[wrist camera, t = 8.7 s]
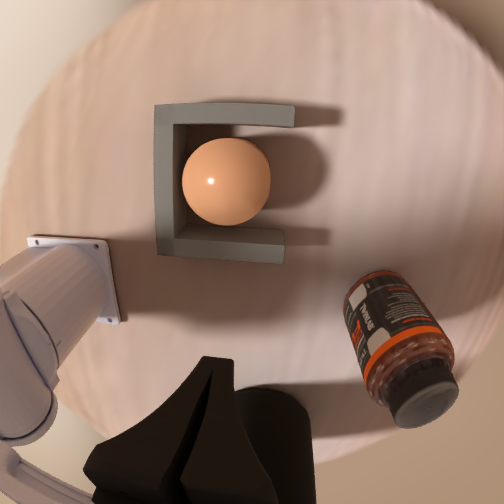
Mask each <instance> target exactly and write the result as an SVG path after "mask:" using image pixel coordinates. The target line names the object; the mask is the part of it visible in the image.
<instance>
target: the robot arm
mask: <svg viewBox="0 0 504 504" xmlns="http://www.w3.org/2000/svg"><path fill="white" fill-rule="evenodd" d="M38 241H39V243H38ZM27 243H28V248H27V249H26V250H24V251H22V252H21V253H19V254H18V255H16V256H14V257H13V258H11V259H10V260H8V261H7V262H5V263H4V264H2V265H1V266H0V491H1V492H2V493H4V494H5V495H6V496H8V497H9V498H11V499H12V500H14V501H15V502H16V503H18V504H278V498H277V495H276V492H275V489H274V487H273V484H272V481H271V479H270V477H269V475H268V474H267V472H266V471H265V469H264V468H263V466H262V464H261V462H260V461H259V459H258V457H257V455H256V453H255V451H254V449H253V447H252V445H251V443H250V441H249V438H248V436H247V433H246V431H245V428H244V426H243V423H242V420H241V417H240V413H239V409H238V406H237V402H236V397H235V391H234V361H233V360H232V359H226V358H217V357H209V356H203V357H202V358H201V359H200V361H199V362H198V364H197V365H196V367H195V368H194V369H193V371H192V372H191V373H190V375H189V376H188V377H187V378H186V379H185V381H184V382H183V383H182V384H181V385H180V387H179V388H178V389H177V390H176V391H175V392H174V393H173V394H172V395H171V396H170V397H169V398H168V399H167V400H166V401H165V402H164V403H163V404H162V405H161V406H160V407H159V408H157V409H156V410H155V411H154V412H153V413H151V414H150V415H149V416H147V417H146V418H145V419H143V420H142V421H141V422H139V423H138V424H136V425H135V426H133V427H131V428H130V429H128V430H126V431H124V432H123V433H121V434H119V435H117V436H115V437H113V438H111V439H109V440H107V441H105V442H102V443H100V444H98V445H96V447H95V448H94V449H93V451H92V452H91V454H90V456H89V457H88V459H87V461H86V464H85V466H84V468H83V472H84V473H85V475H86V476H87V477H88V478H89V480H90V481H92V483H93V484H94V485H95V486H96V490H95V492H94V494H93V495H92V494H89V493H87V492H85V491H83V490H80V489H78V488H76V487H74V486H72V485H70V484H67V483H66V482H63V481H61V480H60V479H58V478H56V477H54V476H52V475H50V474H48V473H46V472H44V471H43V470H41V469H39V468H37V467H36V466H34V465H32V464H30V463H29V462H27V461H26V460H24V459H22V458H21V457H20V455H19V454H18V453H17V452H16V451H15V450H14V449H12V448H11V447H13V446H22V445H27V444H30V443H32V442H35V441H36V440H38V439H39V438H41V437H42V436H43V435H44V434H45V433H46V432H47V431H48V430H49V428H50V427H51V426H52V424H53V422H54V420H55V418H56V414H57V409H58V402H57V398H56V396H55V394H54V392H53V390H54V388H55V387H56V385H57V384H58V382H59V381H60V380H59V378H58V375H57V370H58V368H59V367H60V366H61V364H62V363H63V361H64V360H65V359H66V358H67V356H68V355H69V354H70V352H71V351H72V350H73V348H74V347H75V346H76V344H77V343H78V342H79V341H80V339H81V338H82V337H83V335H84V334H85V333H86V332H87V330H88V329H89V328H90V327H91V325H92V324H93V323H94V322H95V321H96V322H101V323H106V324H112V325H119V323H120V322H121V318H120V314H119V309H118V304H117V299H116V293H115V288H114V282H113V276H112V269H111V263H110V256H109V248H108V244H107V242H106V241H104V240H95V239H79V238H63V237H47V236H29V237H28V238H27ZM96 244H97V245H98V247H99V248H97V247H96ZM110 318H111V319H112V320H111V319H110Z"/></svg>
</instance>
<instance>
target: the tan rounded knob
mask: <svg viewBox="0 0 504 504" xmlns="http://www.w3.org/2000/svg"><path fill="white" fill-rule="evenodd" d="M182 186H183V192H184V195H185V198H186V200H187V202H188V204H189V205H190V207H191V208H192V209H193V211H194V212H195V213H196V214H198V215H199V216H200V217H201V218H203V219H205V220H207V221H209V222H211V223H214V224H218V225H236V224H240V223H243V222H245V221H247V220H249V219H251V218H252V217H254V216H255V215H256V214H257V213H258V212H259V211H260V210H261V209H262V207H263V206H264V204H265V203H266V201H267V198H268V196H269V192H270V186H271V176H270V166H269V163H268V160H267V158H266V156H265V155H264V153H263V152H262V151H261V150H260V149H259V148H258V147H257V146H256V145H255V144H253V143H251V142H249V141H247V140H244V139H240V138H222V139H216V140H212V141H209V142H207V143H205V144H203V145H202V146H200V147H199V148H198V149H197V150H195V151H194V153H193V154H192V155H191V156H190V158H189V159H188V161H187V163H186V165H185V168H184V171H183V177H182Z"/></svg>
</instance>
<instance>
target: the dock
mask: <svg viewBox="0 0 504 504" xmlns="http://www.w3.org/2000/svg"><path fill="white" fill-rule="evenodd" d="M294 116H295V106H288V105H275V104H257V103H182V104H164V105H155V108H154V203H155V225H156V241H157V255H163V256H176V257H190V258H204V259H218V260H232V261H247V262H262V263H277V264H283V259H284V248H285V244H284V235H283V230H273V229H258V228H242V227H225V226H207V225H188V224H186V198H185V195H184V192H183V186H182V177H183V171H184V168H185V165H186V143H187V125H246V126H267V127H282V128H292V127H294Z"/></svg>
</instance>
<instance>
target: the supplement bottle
mask: <svg viewBox="0 0 504 504" xmlns="http://www.w3.org/2000/svg"><path fill="white" fill-rule="evenodd" d="M343 312H344V318H345V323H346V326H347V329H348V332H349V334H350V337H351V340H352V343H353V346H354V349H355V352H356V355H357V359H358V362H359V365H360V368H361V372H362V375H363V378H364V381H365V384H366V388H367V390H368V393H369V395H370V396H371V398H372V399H373V400H374V401H375V402H376V403H378V404H380V405H381V406H385V407H389V408H390V411H391V413H392V416H393V418H394V421H395V423H396V424H397V426H399V427H401V428H406V429H410V428H417V427H420V426H423V425H426V424H427V423H430V422H432V421H434V420H435V419H437V418H438V417H440V416H441V415H443V414H444V413H445V412H446V411H447V410H448V409H449V408H450V407H451V406H452V405H453V403H454V402H455V400H456V399H457V396H458V392H459V389H458V385H457V383H456V381H455V380H454V377H453V374H452V373H451V371H452V368H453V365H454V349H453V346H452V344H451V342H450V340H449V339H448V337H447V336H446V334H445V333H444V331H443V330H442V328H441V327H440V325H439V324H438V323H437V321H436V320H435V318H434V317H433V316H432V314H431V313H430V311H429V310H428V309H427V307H426V306H425V305H424V303H423V302H422V301H421V299H420V298H419V297H418V295H417V294H416V293H415V291H414V290H413V289H412V287H411V286H410V285H409V284H408V283H407V282H406V281H405V279H404V278H402V277H401V276H400V275H398V274H396V273H393V272H388V271H381V272H375V273H372V274H369V275H367V276H365V277H363V278H362V279H360V280H359V281H358V282H357V283H356V284H355V285H354V286H353V287H352V288H351V289H350V291H349V293H348V294H347V296H346V298H345V302H344V307H343Z"/></svg>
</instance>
